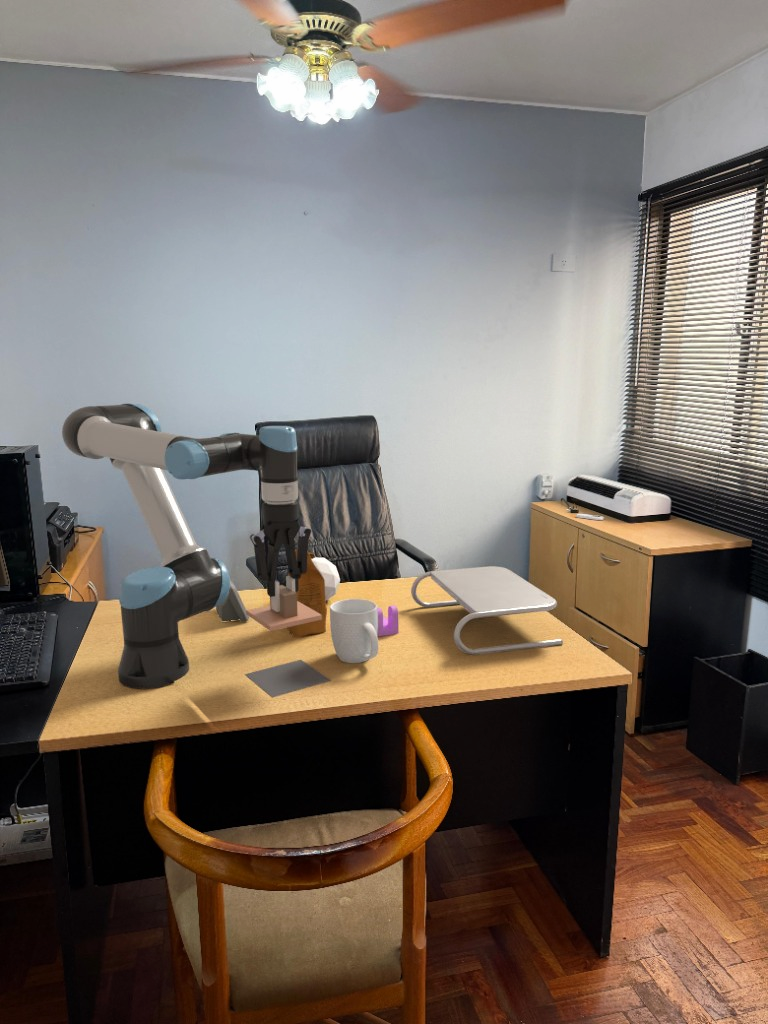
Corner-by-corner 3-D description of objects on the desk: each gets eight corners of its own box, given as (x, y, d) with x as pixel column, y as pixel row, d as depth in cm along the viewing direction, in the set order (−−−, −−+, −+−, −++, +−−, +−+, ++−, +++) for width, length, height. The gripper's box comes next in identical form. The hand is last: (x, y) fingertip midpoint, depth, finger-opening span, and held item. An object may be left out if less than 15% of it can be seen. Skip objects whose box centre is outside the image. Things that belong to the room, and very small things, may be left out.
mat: (272, 700, 148) (272, 697, 148) (244, 676, 160) (244, 674, 159) (331, 682, 156) (331, 680, 156) (300, 661, 167) (300, 659, 167)
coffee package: (319, 619, 195) (316, 540, 191) (330, 635, 184) (328, 551, 179) (282, 624, 192) (279, 544, 188) (291, 640, 181) (288, 555, 176)
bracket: (398, 633, 185) (398, 607, 183) (378, 636, 183) (377, 610, 181) (380, 617, 197) (380, 593, 195) (361, 620, 195) (360, 595, 193)
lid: (270, 631, 147) (269, 603, 146) (246, 614, 157) (245, 588, 155) (322, 619, 153) (321, 592, 152) (295, 604, 163) (295, 578, 162)
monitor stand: (563, 646, 176) (565, 604, 174) (454, 658, 169) (455, 615, 167) (502, 600, 211) (503, 564, 209) (410, 608, 204) (410, 572, 202)
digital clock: (249, 624, 193) (247, 586, 191) (215, 626, 191) (212, 588, 189) (248, 605, 208) (247, 569, 206) (216, 607, 207) (214, 571, 204)
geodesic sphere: (335, 593, 199) (338, 547, 205) (286, 593, 200) (290, 547, 206) (341, 609, 212) (343, 566, 218) (295, 609, 213) (298, 566, 219)
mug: (396, 667, 164) (396, 612, 161) (355, 678, 158) (354, 622, 155) (362, 646, 176) (361, 595, 173) (322, 656, 170) (321, 604, 167)
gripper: (251, 508, 142) (256, 620, 147) (322, 499, 151) (324, 606, 156) (236, 502, 148) (241, 610, 153) (305, 494, 157) (308, 597, 162)
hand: (283, 608), depth 155 cm, fingers closed on lid, 3 cm apart
